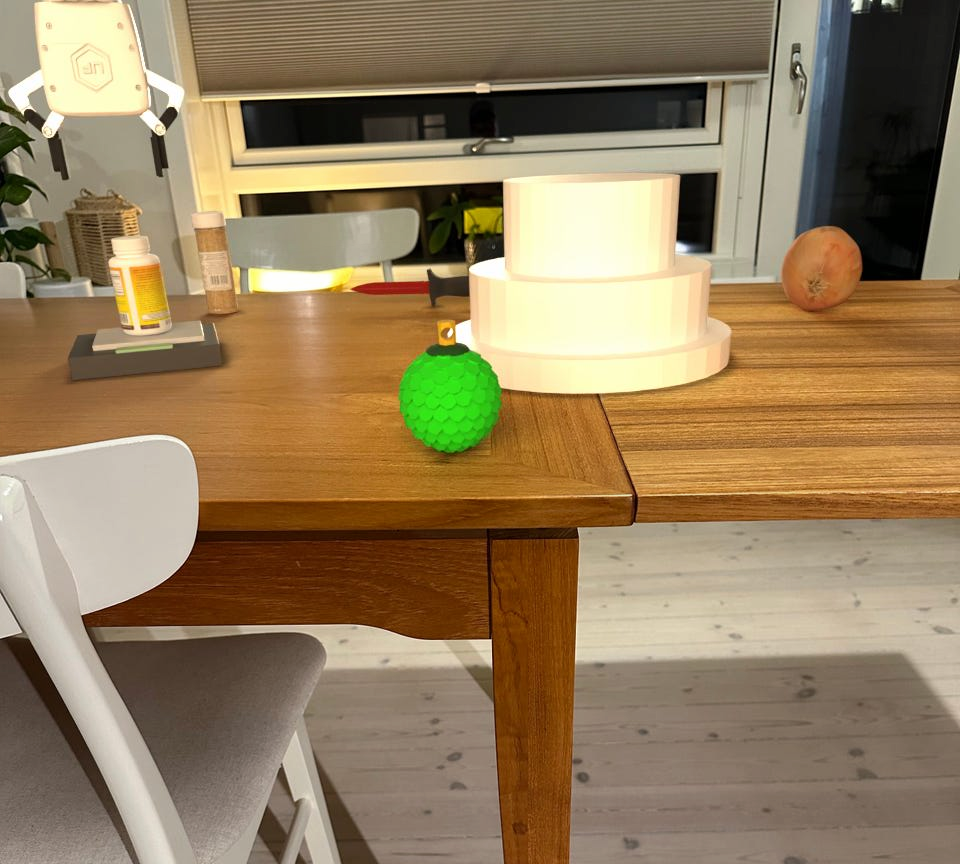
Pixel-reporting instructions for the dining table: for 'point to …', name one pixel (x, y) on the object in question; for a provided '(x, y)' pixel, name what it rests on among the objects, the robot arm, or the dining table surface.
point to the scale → (144, 351)
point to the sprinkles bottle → (215, 261)
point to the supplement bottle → (139, 287)
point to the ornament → (450, 395)
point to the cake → (593, 289)
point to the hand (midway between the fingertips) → (114, 178)
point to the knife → (420, 287)
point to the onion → (821, 268)
